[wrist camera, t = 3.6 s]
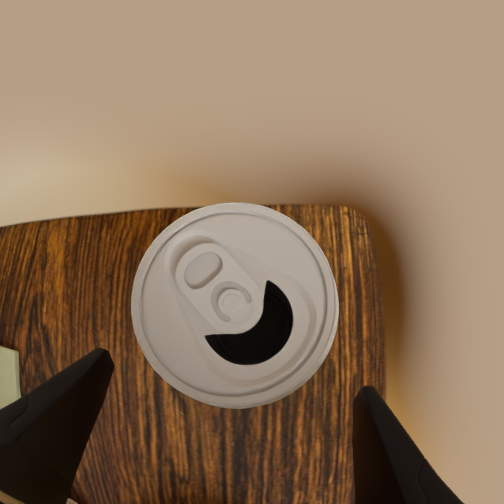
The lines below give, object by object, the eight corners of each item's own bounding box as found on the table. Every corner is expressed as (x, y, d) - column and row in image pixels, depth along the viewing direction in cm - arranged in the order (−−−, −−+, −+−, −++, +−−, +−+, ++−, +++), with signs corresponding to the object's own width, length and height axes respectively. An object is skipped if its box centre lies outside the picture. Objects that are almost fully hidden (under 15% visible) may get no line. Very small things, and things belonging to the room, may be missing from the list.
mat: (28, 447, 15) (25, 448, 15) (-8, 425, 15) (-12, 425, 15) (18, 351, 18) (14, 351, 18) (-16, 339, 18) (-20, 339, 18)
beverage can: (248, 390, 17) (222, 464, 6) (185, 320, 19) (82, 287, 7) (318, 326, 18) (397, 302, 7) (253, 259, 20) (239, 152, 9)
